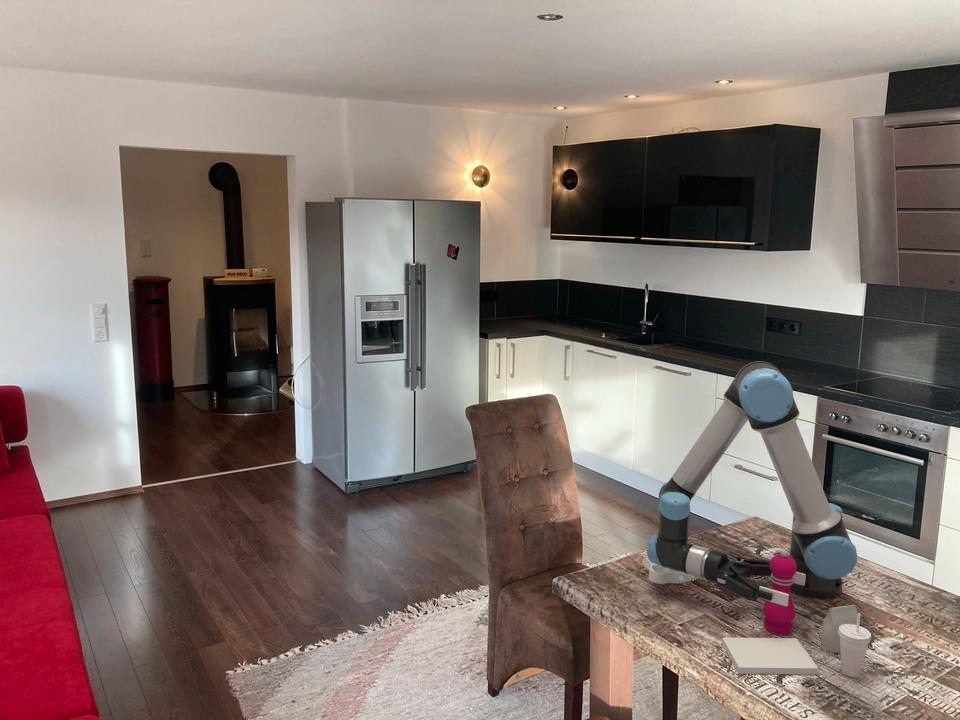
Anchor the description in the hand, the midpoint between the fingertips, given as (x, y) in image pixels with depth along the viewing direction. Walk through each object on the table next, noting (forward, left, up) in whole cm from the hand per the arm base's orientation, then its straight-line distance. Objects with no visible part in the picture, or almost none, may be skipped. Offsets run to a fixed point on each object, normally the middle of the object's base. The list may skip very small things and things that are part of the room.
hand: (796, 590), depth 182 cm
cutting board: (+10, +11, -11) cm, 18 cm away
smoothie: (-6, +16, -11) cm, 20 cm away
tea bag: (-8, +6, -11) cm, 15 cm away
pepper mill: (+3, -2, -11) cm, 12 cm away
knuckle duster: (+20, -31, -12) cm, 39 cm away
